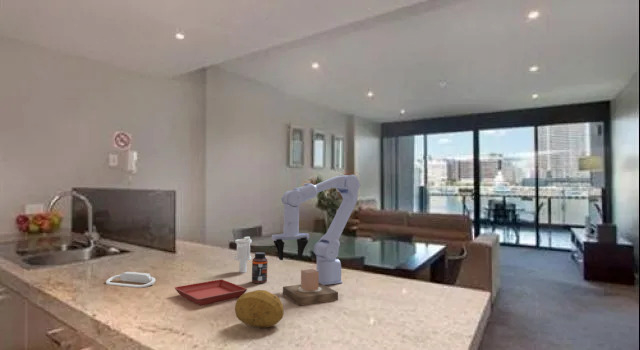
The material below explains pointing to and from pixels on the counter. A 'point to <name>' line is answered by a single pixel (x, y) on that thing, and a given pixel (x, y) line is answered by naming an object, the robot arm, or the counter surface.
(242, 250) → the white upright piece
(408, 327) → the counter surface
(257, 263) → the supplement bottle
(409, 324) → the counter surface
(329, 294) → the plinth
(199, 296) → the plant saucer
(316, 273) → the block
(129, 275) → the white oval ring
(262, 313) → the potato
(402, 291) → the counter surface
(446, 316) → the counter surface
